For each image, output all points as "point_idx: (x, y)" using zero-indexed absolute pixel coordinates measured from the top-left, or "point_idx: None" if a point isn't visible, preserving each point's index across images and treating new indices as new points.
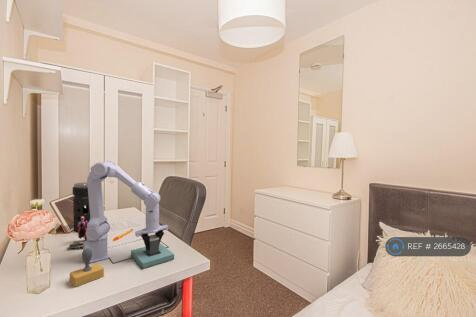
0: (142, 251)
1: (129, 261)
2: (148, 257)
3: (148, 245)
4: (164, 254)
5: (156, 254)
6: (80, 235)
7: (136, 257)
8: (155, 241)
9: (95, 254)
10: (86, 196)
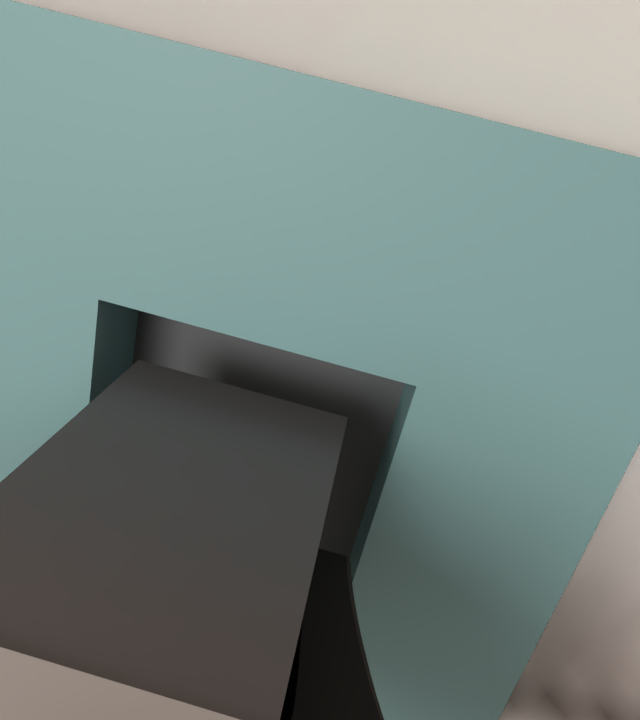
0: None
1: (589, 621)
2: (443, 359)
3: (320, 644)
4: (87, 172)
5: None
6: None
7: (554, 582)
8: (59, 607)
9: None
10: None
